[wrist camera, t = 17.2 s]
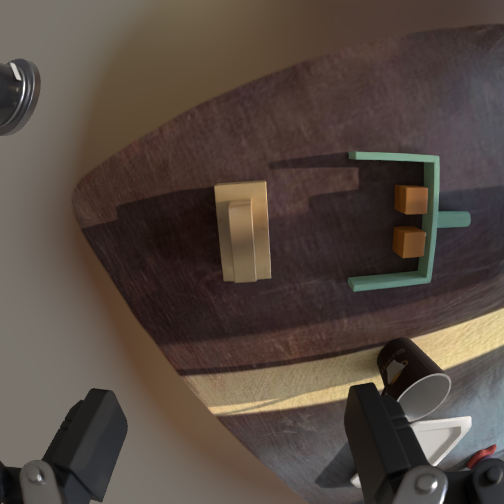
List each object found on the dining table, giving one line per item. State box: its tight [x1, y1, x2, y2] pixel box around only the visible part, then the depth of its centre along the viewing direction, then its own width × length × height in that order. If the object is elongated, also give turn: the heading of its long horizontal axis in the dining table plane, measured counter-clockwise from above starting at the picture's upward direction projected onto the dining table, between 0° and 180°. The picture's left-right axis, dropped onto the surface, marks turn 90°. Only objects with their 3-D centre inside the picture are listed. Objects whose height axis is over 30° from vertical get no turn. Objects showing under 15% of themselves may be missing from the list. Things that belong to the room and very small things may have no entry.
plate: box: [350, 416, 471, 488], centre depth 48 cm, size 25×25×2 cm
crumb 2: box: [392, 226, 426, 258], centre depth 33 cm, size 3×3×3 cm
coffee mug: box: [377, 338, 451, 422], centre depth 35 cm, size 12×9×10 cm
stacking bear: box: [467, 445, 496, 470], centre depth 47 cm, size 11×10×18 cm
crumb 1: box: [394, 185, 428, 214], centre depth 31 cm, size 3×3×3 cm
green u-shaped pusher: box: [348, 152, 471, 291], centre depth 32 cm, size 17×16×2 cm
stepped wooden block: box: [214, 180, 271, 283], centre depth 30 cm, size 10×5×8 cm, turn 4°
